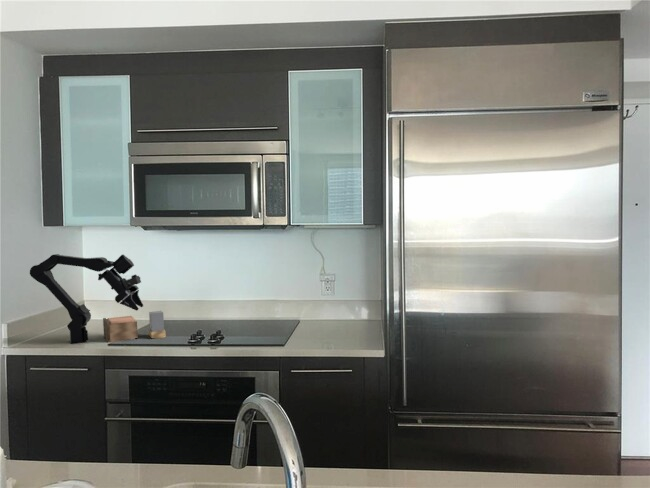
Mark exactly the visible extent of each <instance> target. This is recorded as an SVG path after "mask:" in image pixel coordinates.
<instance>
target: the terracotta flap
mask: <svg viewBox="0 0 650 488" xmlns="http://www.w3.org/2000/svg"><path fill="white" fill-rule="evenodd" d="M106 319H107V320H108V321H109V322H110V324H115V323H124V322H134V321H136V318H134V317H133V316H132V315H124V316H117V317H115V316H114V317H108V318H106Z"/></svg>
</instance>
